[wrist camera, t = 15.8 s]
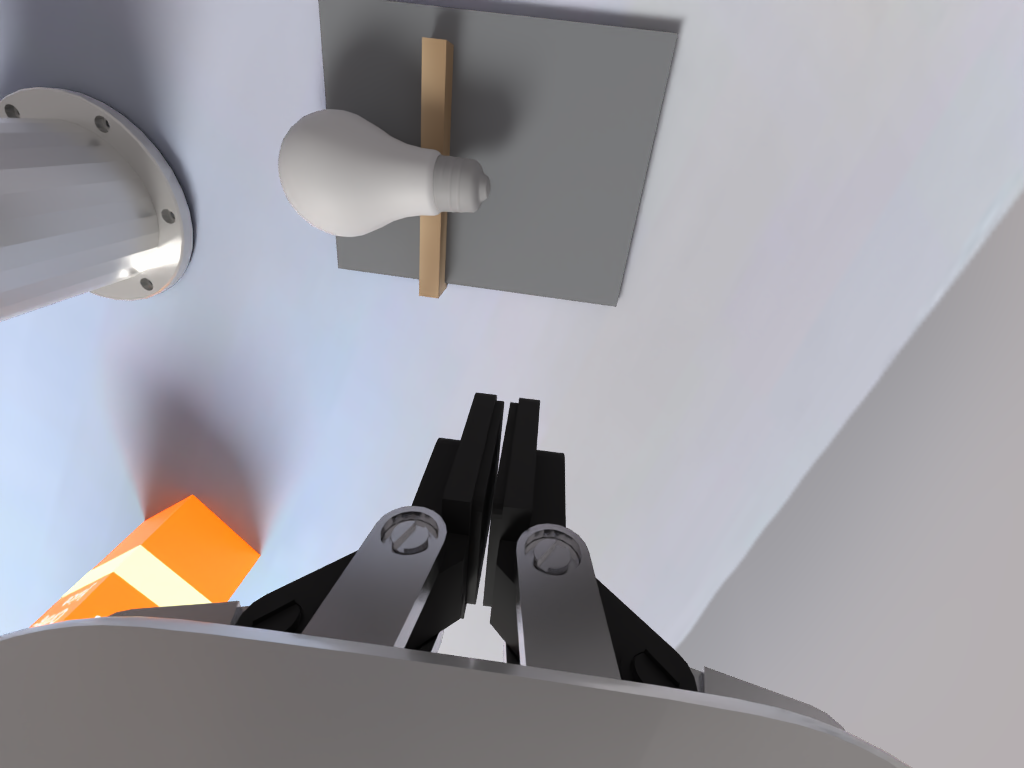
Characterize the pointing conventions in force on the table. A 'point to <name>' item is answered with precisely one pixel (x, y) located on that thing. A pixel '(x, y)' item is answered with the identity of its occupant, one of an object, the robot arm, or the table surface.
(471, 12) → the mat
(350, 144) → the lightbulb
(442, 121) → the rail
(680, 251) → the table surface
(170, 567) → the orange juice
